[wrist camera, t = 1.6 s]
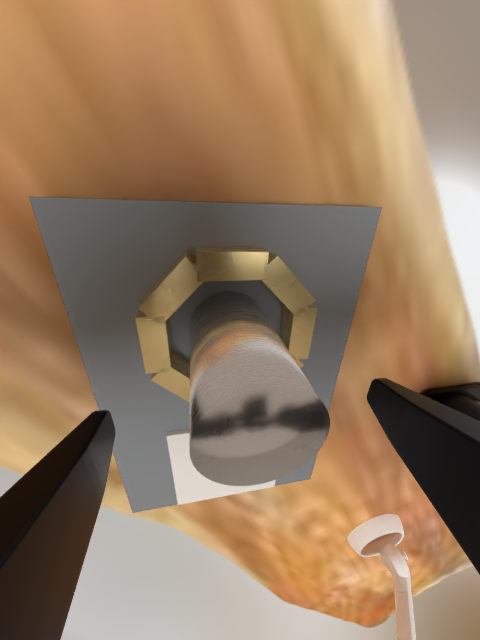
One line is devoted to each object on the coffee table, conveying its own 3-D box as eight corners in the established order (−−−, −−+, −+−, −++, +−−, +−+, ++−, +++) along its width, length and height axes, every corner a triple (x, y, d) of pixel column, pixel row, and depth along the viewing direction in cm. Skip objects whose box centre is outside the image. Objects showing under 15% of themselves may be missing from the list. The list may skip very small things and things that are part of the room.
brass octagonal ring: (312, 245, 12) (328, 251, 10) (291, 379, 15) (301, 396, 14) (131, 246, 10) (122, 252, 9) (157, 394, 14) (153, 414, 12)
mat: (283, 416, 17) (284, 419, 16) (273, 482, 20) (274, 486, 20) (166, 432, 15) (166, 436, 15) (178, 500, 19) (177, 504, 19)
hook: (330, 603, 25) (410, 641, 21) (342, 489, 34) (398, 500, 30) (351, 638, 27) (427, 679, 23) (356, 521, 36) (411, 536, 32)
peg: (266, 289, 12) (343, 378, 6) (261, 354, 14) (316, 473, 8) (187, 292, 11) (182, 396, 5) (192, 360, 13) (193, 496, 7)
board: (368, 206, 12) (381, 207, 11) (305, 468, 22) (310, 479, 21) (43, 197, 10) (29, 196, 9) (135, 498, 19) (132, 512, 18)
